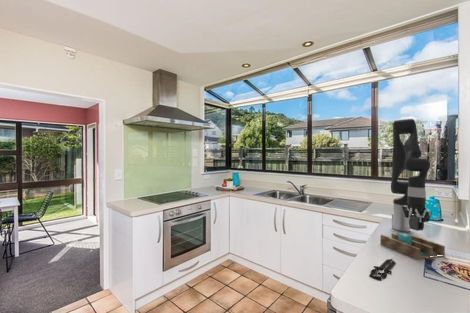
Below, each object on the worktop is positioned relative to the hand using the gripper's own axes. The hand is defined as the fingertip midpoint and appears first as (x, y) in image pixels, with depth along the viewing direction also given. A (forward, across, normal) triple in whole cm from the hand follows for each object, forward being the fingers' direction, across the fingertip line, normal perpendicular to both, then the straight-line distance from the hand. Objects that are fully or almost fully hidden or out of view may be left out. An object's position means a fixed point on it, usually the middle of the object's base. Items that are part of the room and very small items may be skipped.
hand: (416, 227), depth 118 cm
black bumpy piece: (+12, +13, -36) cm, 40 cm away
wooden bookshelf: (+11, 0, -4) cm, 12 cm away
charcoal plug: (+1, 0, 0) cm, 1 cm away
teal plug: (+10, 0, -8) cm, 13 cm away
